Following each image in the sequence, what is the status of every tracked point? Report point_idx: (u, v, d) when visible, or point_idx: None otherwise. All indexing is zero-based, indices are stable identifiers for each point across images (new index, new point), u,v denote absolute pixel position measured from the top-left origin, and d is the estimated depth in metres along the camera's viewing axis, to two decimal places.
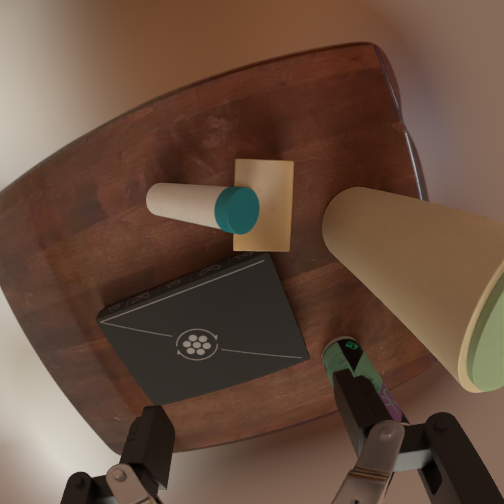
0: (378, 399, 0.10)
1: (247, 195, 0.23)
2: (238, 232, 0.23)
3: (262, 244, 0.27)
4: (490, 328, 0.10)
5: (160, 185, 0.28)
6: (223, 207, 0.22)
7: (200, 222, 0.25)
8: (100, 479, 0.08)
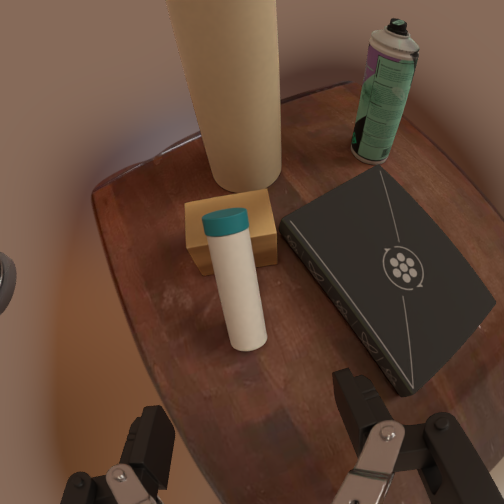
0: (378, 399, 0.10)
1: (209, 214, 0.24)
2: (243, 210, 0.23)
3: (264, 210, 0.27)
4: None
5: (229, 335, 0.26)
6: (218, 223, 0.22)
7: (248, 260, 0.24)
8: (100, 479, 0.08)
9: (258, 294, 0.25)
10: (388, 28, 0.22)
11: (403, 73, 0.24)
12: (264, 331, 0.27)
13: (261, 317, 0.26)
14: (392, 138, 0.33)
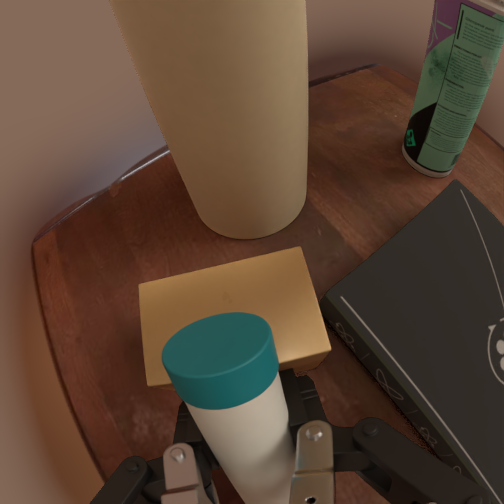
0: (316, 399, 0.11)
1: (180, 341, 0.09)
2: (264, 339, 0.09)
3: (301, 297, 0.13)
4: None
5: None
6: (202, 387, 0.08)
7: (279, 433, 0.09)
8: (153, 463, 0.09)
9: None
10: None
11: (497, 36, 0.10)
12: None
13: None
14: None
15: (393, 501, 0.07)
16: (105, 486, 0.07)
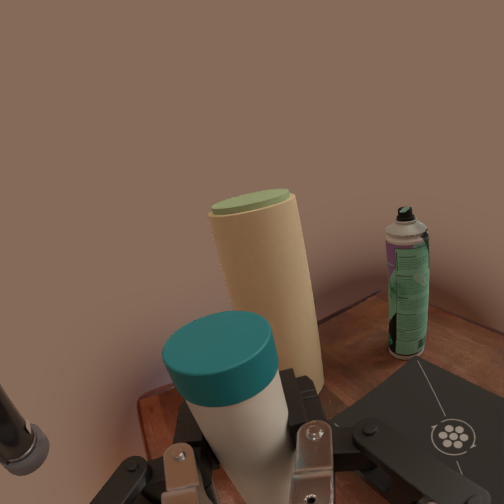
0: (316, 399, 0.11)
1: (181, 339, 0.10)
2: (264, 337, 0.09)
3: None
4: (246, 203, 0.27)
5: None
6: (203, 384, 0.08)
7: (279, 431, 0.09)
8: (154, 463, 0.09)
9: None
10: (397, 219, 0.32)
11: (419, 258, 0.31)
12: None
13: None
14: (424, 327, 0.34)
15: (393, 502, 0.07)
16: (105, 486, 0.07)
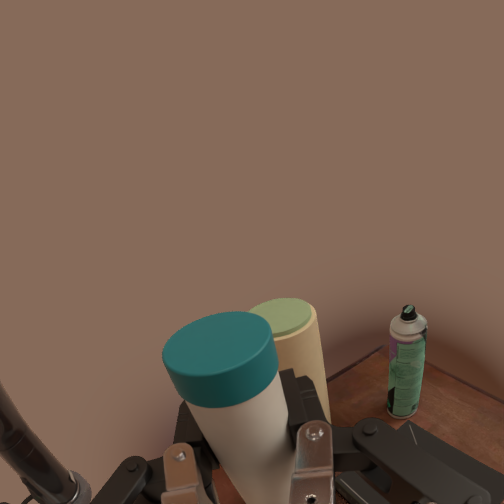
0: (316, 399, 0.11)
1: (181, 340, 0.10)
2: (264, 338, 0.09)
3: None
4: (276, 330, 0.31)
5: None
6: (202, 385, 0.08)
7: (279, 431, 0.09)
8: (154, 463, 0.09)
9: None
10: (401, 317, 0.36)
11: (417, 349, 0.35)
12: None
13: None
14: (418, 395, 0.38)
15: (393, 501, 0.07)
16: (105, 486, 0.07)
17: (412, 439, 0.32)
